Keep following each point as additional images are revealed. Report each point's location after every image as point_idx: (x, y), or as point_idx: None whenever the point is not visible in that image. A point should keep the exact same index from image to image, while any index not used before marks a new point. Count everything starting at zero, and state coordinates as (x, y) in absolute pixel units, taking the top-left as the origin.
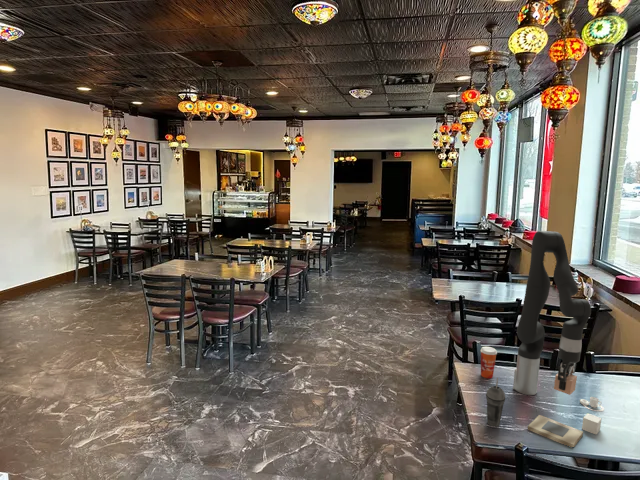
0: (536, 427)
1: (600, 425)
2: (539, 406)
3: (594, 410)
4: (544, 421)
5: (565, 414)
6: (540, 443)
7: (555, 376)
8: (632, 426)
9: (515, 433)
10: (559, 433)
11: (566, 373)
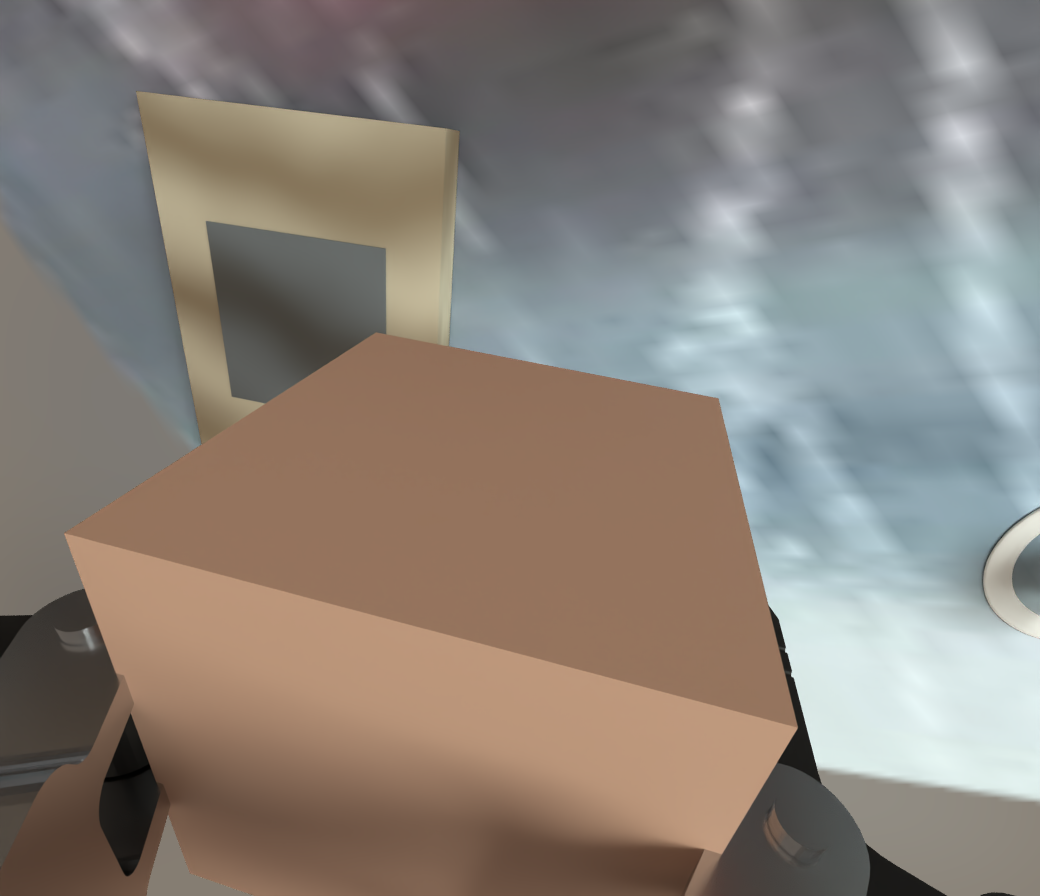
0: (182, 176)
1: None
2: (774, 46)
3: (987, 576)
4: (347, 216)
5: (731, 355)
6: (87, 253)
7: (113, 501)
8: (816, 759)
9: (16, 13)
10: (257, 369)
11: (621, 860)
